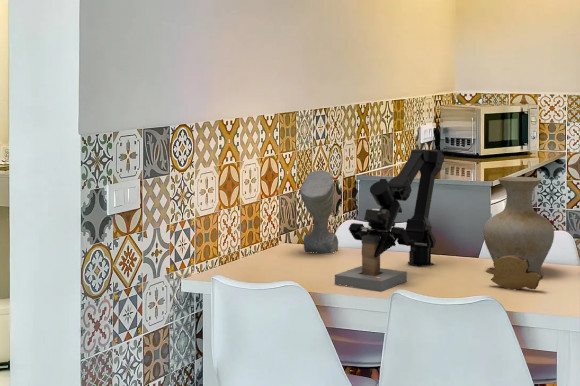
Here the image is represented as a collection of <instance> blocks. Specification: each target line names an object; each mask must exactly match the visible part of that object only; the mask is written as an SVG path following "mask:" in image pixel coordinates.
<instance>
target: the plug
mask: <svg viewBox="0 0 580 386" xmlns="http://www.w3.org/2000/svg"><path fill="white" fill-rule="evenodd" d="M380 240H381V236H377V235H366V236H362V241H361V266H362V274H363V275H370V276H376V275H379V274H380V268H381V255H379V256H378V257H377V258H375V257H374V254H375V251H376V249H377V247H378V244H379V242H380Z"/></svg>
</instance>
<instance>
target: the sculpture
mask: <svg viewBox="0 0 580 386" xmlns="http://www.w3.org/2000/svg"><path fill="white" fill-rule="evenodd" d="M335 190H336V189H335V185H334V178H333V174H332V173H331V172H330V171H326V170H324V169H316V170H313V171H312V172H311V171H310V172H309V173H307V175H306V178H305V179H304V181H303V183H302V185H301V186H300V193H301V195H300V198H301V200H302V202H303V204H304V206H305V209H306V211H308V212H309V213H310V214H311V217H312V218H313V227H312V229H311V232H310V233H309V232H308V233H306V234H304V235H303V239H302V240H303V250H304V251H305V252H304V253H306V252H312V253H311V254H321V253H333V252H335V251H336V250H337V249H338V248H339V239H338V236H337V235H336V234H334V233H332V232H330V231H329V228H328V227H329V224H328V223H329V218H330V216H331V215H332V213H333V211H334V208H335V207H334V206H335V205H334V199H335V196H334V194H335ZM338 250H339V249H338ZM338 250H337V251H338ZM337 251H336V252H337ZM313 252H314V253H313ZM316 252H317V253H316ZM336 252H335V253H336ZM333 254H334V253H333Z"/></svg>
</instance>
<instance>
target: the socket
mask: <svg viewBox="0 0 580 386" xmlns="http://www.w3.org/2000/svg"><path fill="white" fill-rule="evenodd" d="M407 275H408V272H407V271H406V270H405V271H404V270H400V269H399V270H398V269H390V268H381V267H380V274H379V275H376V276H370V275H363V274H362V265H360V266H357V267H354V268H351V269H348V270H345V271H342V272H339V273H336V274H334V285H335V284H341V285H347V286H346V287H348V286H353V287H352V288H355V287H358V288H357V289H362V288H363V289H362V290H370V291H377V292H378V291H379V292H382V291H383V292H384V291H385V290H388V289H390V288H393V287H396V286H398V285H400V284H403V283H405V282H407V280H408V278H407V277H408V276H407ZM341 285H340V286H341Z"/></svg>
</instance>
